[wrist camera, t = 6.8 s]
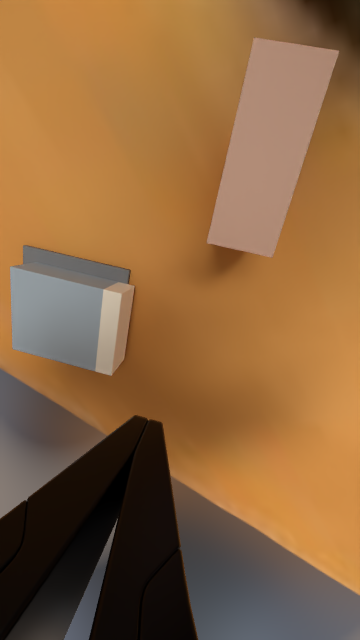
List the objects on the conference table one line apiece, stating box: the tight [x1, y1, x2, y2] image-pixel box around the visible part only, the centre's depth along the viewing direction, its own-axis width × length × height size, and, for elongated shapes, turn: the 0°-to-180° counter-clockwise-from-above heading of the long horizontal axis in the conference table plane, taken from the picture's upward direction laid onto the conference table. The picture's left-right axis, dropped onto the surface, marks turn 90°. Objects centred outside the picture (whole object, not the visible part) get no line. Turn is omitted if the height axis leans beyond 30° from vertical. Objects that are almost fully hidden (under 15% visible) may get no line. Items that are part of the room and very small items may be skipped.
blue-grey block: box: [10, 262, 135, 376], centre depth 18 cm, size 2×6×8 cm
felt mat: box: [23, 245, 130, 284], centre depth 20 cm, size 8×8×1 cm
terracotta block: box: [207, 37, 339, 257], centre depth 12 cm, size 2×6×8 cm, turn 168°
